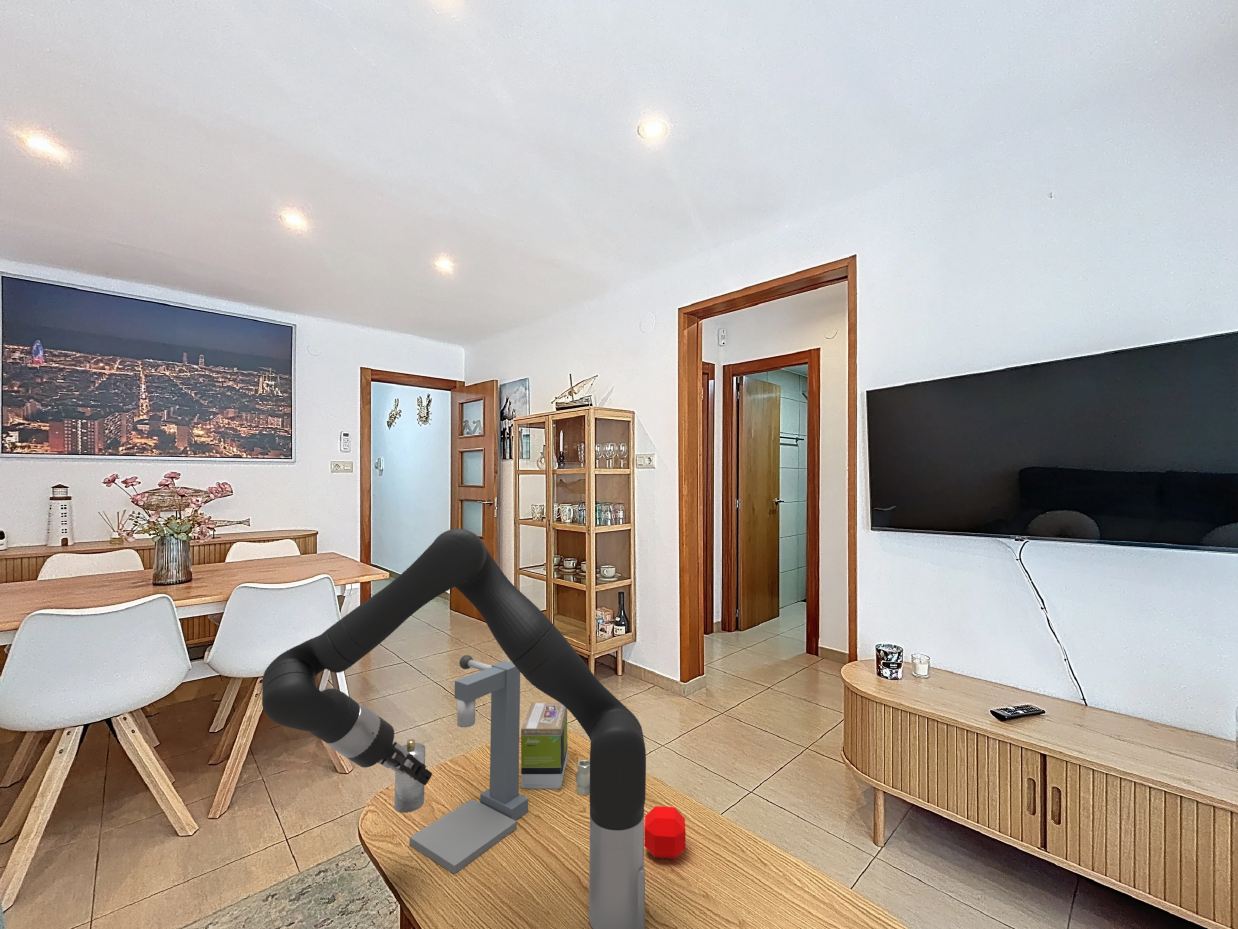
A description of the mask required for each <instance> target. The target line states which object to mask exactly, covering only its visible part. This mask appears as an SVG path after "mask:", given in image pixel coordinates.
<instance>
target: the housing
mask: <svg viewBox="0 0 1238 929" xmlns="http://www.w3.org/2000/svg"><path fill="white" fill-rule="evenodd" d="M401 746H402V747H403V749H404V750H406V751H408V752H409V753H411V754H412V755H413V756H414V758H416V759H417V760H418V761H420V762H421V763H422V764H425V765H426V746H425V744H423V743H419V742H418V743H417V742H416V740H415V739H408V740H407V741H406V744H403V745H401ZM403 754H404V753H403ZM404 756H405V757H404V758H406V757H407V756H406V755H405V754H404ZM400 766H401V764H400V765H399V766H398V767H396V766H395V767H396V768H398V769H399V768H400ZM393 801H394V803H393V804H394V805H393V808H394V811H396V812H398V813H401V814H403V813H404V814H406V813H412V812H415V811H417V810H419V809H420V808H421V807H423V806H424V803H425V785H423V784H422V783H420V782H419V781H417V780H414V779H413V778H410V776H408V775H407V774H405V773H404V774H402V775H401V774H399V773H397V772H396V771H394V800H393Z"/></svg>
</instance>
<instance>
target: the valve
mask: <svg viewBox="0 0 1238 929" xmlns="http://www.w3.org/2000/svg"><path fill="white" fill-rule="evenodd" d="M576 765H577V766H576V767H577V770H576V773H575V782H576V784H577V786H576V790H577V794H578V795H581V794H582V795H581V796H586V795H590V794H589V793H590V759H587V758H586V759H580V760H578V761H577V763H576Z"/></svg>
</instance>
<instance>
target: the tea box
mask: <svg viewBox="0 0 1238 929" xmlns="http://www.w3.org/2000/svg"><path fill="white" fill-rule="evenodd" d="M568 750H569V746H568V709H567V708H566V707H565V706H564V705H562V704H561V703H560V702H538V703H536V702H531V704H530V706H529V708H528V711H527V714H526V717H525V719H524V721H523V724H522V727H520V783H521V784H520V785H521V786H520V788H521V789H522V790H524V789H525V790H560V789H562V786H563V781H564V776H565V771H566V767H567V762H568V755H569V754H568Z"/></svg>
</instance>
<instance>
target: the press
mask: <svg viewBox="0 0 1238 929" xmlns="http://www.w3.org/2000/svg"><path fill="white" fill-rule="evenodd" d="M459 666H460V668H461V669H463V670H469V669H475V670H478V672H475V673H472V674H469V675H466V676H464V677H462V678H459V679H455V680H454V699H455V700H457V708H456V710H457V712H456V713H457V714H456V715H457V716H456V725H457V727H458V728H470V727H472V726H474V725H475V723H476V700H477V699H480V698H482V697H484V696H487V695H489V694H490V695H491V696H490V740H489V741H490V742H489V744H490V747H489V748H490V749H489V751H490V755H489V788H487V789H486V790H483V792H481V793H480V794H479V795H480V796H479V798H480V799H479V800H480V801H478V800H476V799H475V798H471V799H469V800H468V801H466V802H465V803H463V804H461V805H460V806H458V807H457V808H455V809H453V810H451V811H450V812H449V813H447V814H445V815H443V816H442V817H441V818H439V819H437V820H435V821H434V822H432V823H431V824H429V825H427V826H426V827H423V828H422V829H421V830H419V831H417V832H416V833H414V834H412V835H411V836H409V846H411V847H412V848H414V850H416V851H418V852H419V853H421V854H423V855H425V856H426V857H428V858H429V859H430V860H432V861H433V862H435V863H436V864H438V865H440V866H441V867H443V868H444V869H445V870H447V871H449V872H451V873H452V874H453V875H455V874H457V873H459V872H460V871H461V870H462V869H463V868H465V867H467V865H469V864H470V863H472V862H473V861H474V860H476V859H477V858H478V857H480V856H481V855H483V854H484V853H485V852H487V851H488V850H490V849H491V848H493V847H494V846H495V845H496V844H498V843H499V842H500V841H501V840H503V839H504V838H506V837H507V836H509V835H510V834H512V833H513V832H514V831H515V830H517V828H518V827H517V825H518V823H517V821H518V820H520V818H522V817H523V816H525V815H526V814H527V813H529V798H528V797H526V796H524V795H522V794H521V793H519V791H520V790H519V788H520V785H519V784H520V783H519V782H520V779H519V778H520V775H519V774H520V730H521V727H520V726H521V725H520V724H521V721H520V720H521V718H520V717H521V716H520V715H521V714H520V712H521V709H520V708H521V706H520V705H521V672H520V671H519V670H518V669H517V668H516V666H515V665H514V664H513V663H512V661H508V660H503V661H499V662H497V663H494V664H492V665H490V664H487V663H483V662H481V661H477V660H474V658H473V656H472V655H468V654H465V655H463V656H461V657H460V659H459ZM471 861H472V862H471Z"/></svg>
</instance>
